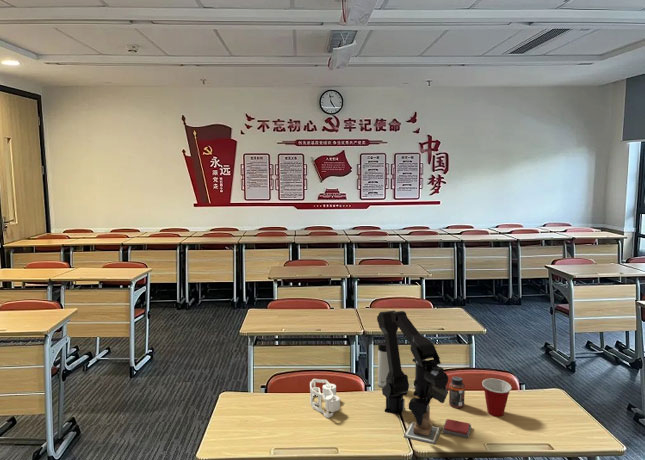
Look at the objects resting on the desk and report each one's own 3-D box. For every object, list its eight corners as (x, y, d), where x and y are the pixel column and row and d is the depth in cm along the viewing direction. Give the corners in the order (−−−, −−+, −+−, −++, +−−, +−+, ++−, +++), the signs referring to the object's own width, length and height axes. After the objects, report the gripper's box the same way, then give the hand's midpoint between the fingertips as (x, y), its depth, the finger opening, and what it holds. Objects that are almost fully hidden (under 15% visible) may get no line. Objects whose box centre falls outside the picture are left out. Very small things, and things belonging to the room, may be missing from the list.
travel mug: (383, 390, 200) (383, 345, 198) (375, 384, 206) (375, 341, 204) (395, 387, 203) (395, 343, 201) (386, 381, 209) (386, 339, 207)
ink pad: (442, 432, 165) (442, 428, 165) (446, 422, 172) (446, 418, 172) (468, 438, 161) (468, 433, 161) (471, 427, 168) (471, 423, 168)
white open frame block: (341, 417, 177) (341, 398, 176) (312, 418, 176) (312, 400, 175) (334, 394, 197) (334, 377, 196) (308, 395, 196) (308, 379, 195)
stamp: (413, 433, 163) (413, 409, 163) (416, 426, 168) (417, 402, 168) (428, 437, 161) (429, 412, 160) (431, 429, 166) (432, 405, 165)
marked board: (403, 437, 162) (403, 435, 162) (411, 422, 172) (411, 421, 172) (435, 444, 158) (435, 442, 158) (440, 429, 168) (440, 427, 167)
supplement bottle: (465, 409, 182) (465, 382, 182) (449, 408, 184) (450, 380, 183) (463, 402, 188) (464, 376, 187) (448, 401, 190) (449, 374, 189)
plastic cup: (487, 420, 173) (487, 390, 172) (477, 407, 184) (478, 378, 183) (515, 420, 174) (516, 390, 173) (504, 407, 184) (505, 378, 183)
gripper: (441, 391, 151) (440, 437, 153) (450, 371, 168) (449, 412, 170) (408, 386, 156) (407, 429, 157) (420, 366, 173) (419, 406, 174)
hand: (422, 419), depth 164 cm, fingers open, 9 cm apart
